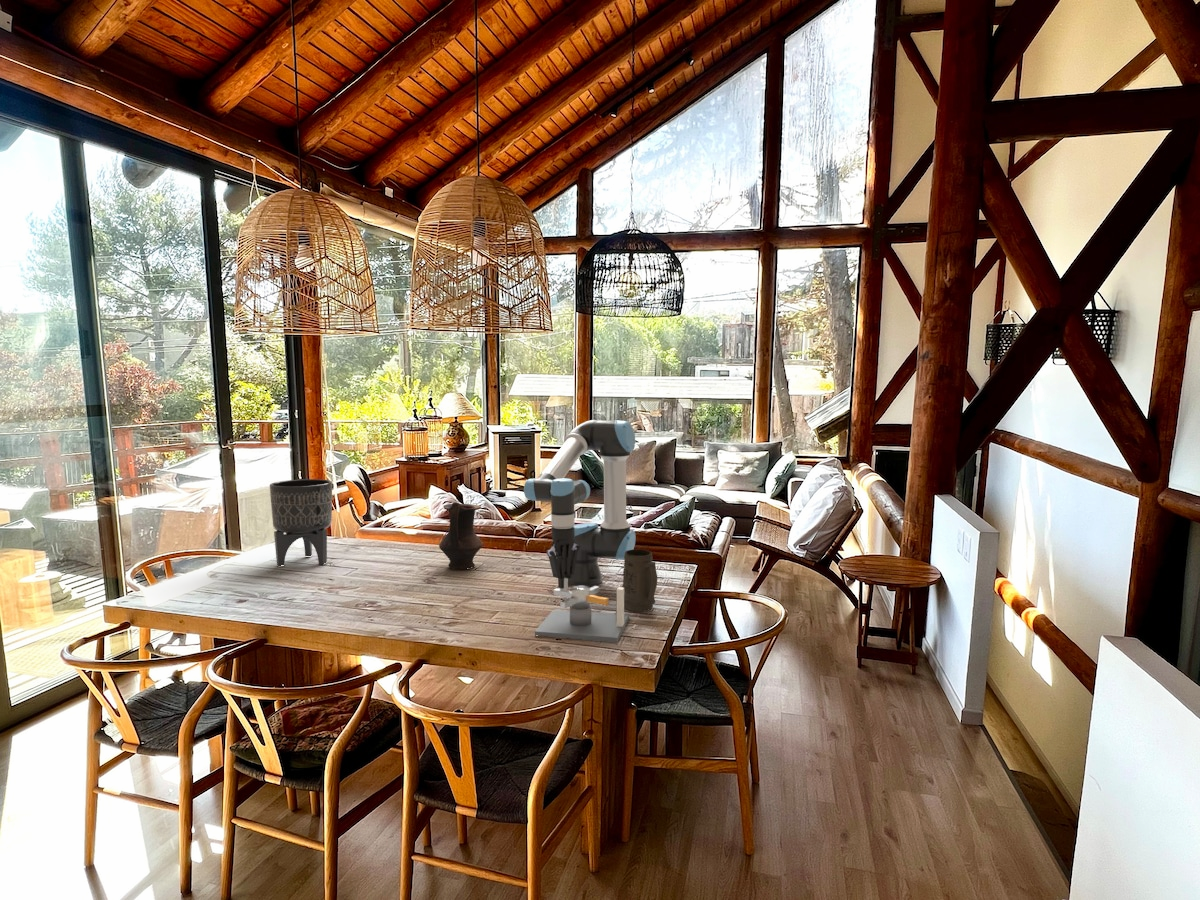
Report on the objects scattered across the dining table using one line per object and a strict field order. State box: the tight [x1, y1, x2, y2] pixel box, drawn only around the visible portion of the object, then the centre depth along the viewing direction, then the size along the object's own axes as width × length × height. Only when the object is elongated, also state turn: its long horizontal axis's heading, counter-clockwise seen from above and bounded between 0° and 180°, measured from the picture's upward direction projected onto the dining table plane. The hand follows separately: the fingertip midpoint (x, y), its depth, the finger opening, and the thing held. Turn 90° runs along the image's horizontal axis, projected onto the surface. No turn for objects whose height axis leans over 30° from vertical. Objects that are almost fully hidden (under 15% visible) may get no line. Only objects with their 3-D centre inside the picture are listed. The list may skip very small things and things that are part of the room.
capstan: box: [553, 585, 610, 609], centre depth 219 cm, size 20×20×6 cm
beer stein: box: [622, 548, 658, 612], centre depth 238 cm, size 15×11×20 cm
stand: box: [534, 586, 630, 643], centre depth 219 cm, size 22×26×14 cm
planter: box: [269, 478, 333, 567], centre depth 298 cm, size 25×25×36 cm
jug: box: [438, 501, 484, 570], centre depth 290 cm, size 21×18×30 cm
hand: (563, 597), depth 223 cm, fingers closed
